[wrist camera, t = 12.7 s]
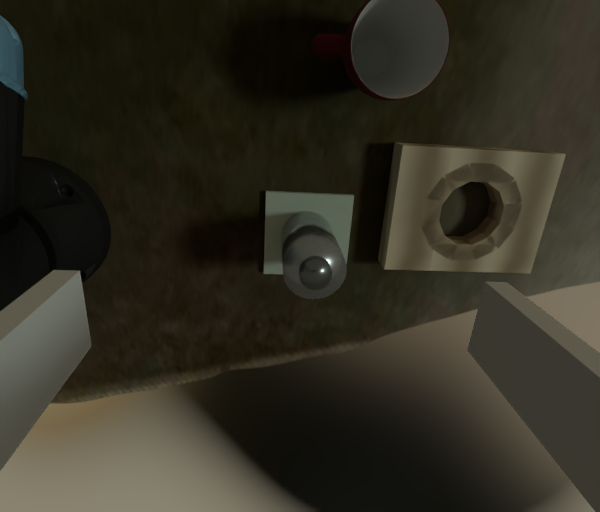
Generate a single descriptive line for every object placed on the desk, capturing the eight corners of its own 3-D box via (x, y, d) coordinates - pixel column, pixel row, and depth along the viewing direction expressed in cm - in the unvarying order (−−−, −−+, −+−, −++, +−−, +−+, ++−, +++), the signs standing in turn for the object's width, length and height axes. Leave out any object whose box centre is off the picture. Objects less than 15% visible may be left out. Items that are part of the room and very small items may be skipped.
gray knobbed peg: (279, 258, 47) (281, 303, 37) (282, 209, 45) (284, 243, 34) (329, 260, 47) (344, 305, 37) (334, 212, 45) (352, 245, 35)
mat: (263, 271, 48) (263, 273, 47) (266, 190, 44) (265, 191, 44) (344, 273, 49) (345, 275, 48) (353, 194, 45) (354, 195, 45)
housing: (377, 259, 48) (384, 269, 46) (394, 142, 43) (403, 145, 41) (515, 263, 50) (530, 273, 47) (547, 150, 45) (565, 154, 42)
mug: (308, 103, 41) (319, 103, 32) (305, 14, 38) (316, -13, 29) (406, 98, 42) (445, 98, 32) (411, 11, 39) (455, -18, 30)
